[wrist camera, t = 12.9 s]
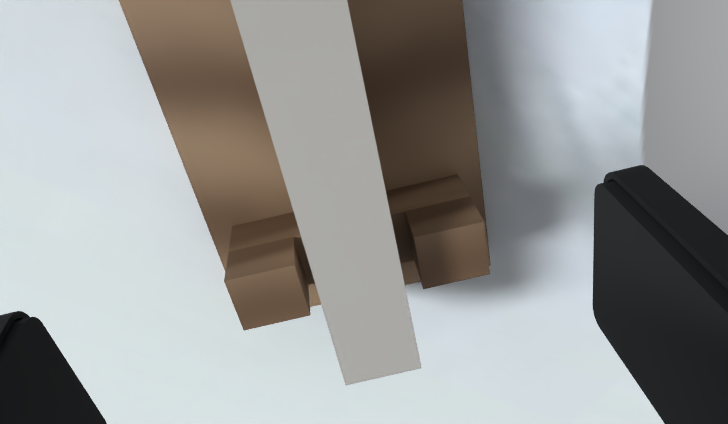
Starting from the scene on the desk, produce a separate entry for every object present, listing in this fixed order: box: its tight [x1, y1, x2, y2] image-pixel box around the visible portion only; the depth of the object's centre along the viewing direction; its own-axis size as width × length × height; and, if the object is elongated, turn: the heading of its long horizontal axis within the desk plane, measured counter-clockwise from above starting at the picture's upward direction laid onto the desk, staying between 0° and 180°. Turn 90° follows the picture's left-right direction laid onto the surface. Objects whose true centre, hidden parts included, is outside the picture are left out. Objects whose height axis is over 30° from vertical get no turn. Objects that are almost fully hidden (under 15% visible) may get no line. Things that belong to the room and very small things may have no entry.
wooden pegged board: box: [119, 0, 490, 330], centre depth 22 cm, size 22×12×5 cm, turn 11°
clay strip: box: [230, 0, 421, 385], centre depth 20 cm, size 20×3×4 cm, turn 11°
